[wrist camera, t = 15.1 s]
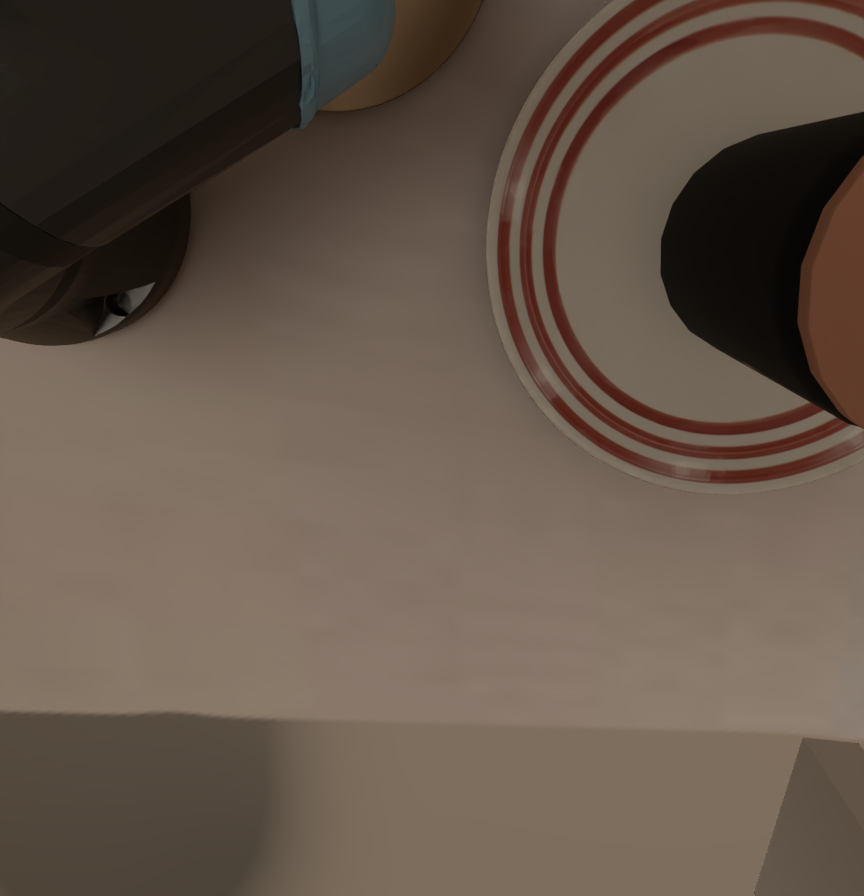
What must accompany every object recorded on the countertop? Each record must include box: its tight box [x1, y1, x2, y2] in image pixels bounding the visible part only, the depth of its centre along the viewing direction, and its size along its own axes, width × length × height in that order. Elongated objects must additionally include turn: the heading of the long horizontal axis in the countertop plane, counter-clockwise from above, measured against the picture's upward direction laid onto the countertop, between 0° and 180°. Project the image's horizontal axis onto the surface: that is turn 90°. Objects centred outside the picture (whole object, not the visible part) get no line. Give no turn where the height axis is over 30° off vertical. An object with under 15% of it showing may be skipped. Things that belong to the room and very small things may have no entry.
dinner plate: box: [486, 0, 864, 495], centre depth 41 cm, size 27×27×3 cm
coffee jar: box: [660, 112, 864, 429], centre depth 30 cm, size 11×11×18 cm
